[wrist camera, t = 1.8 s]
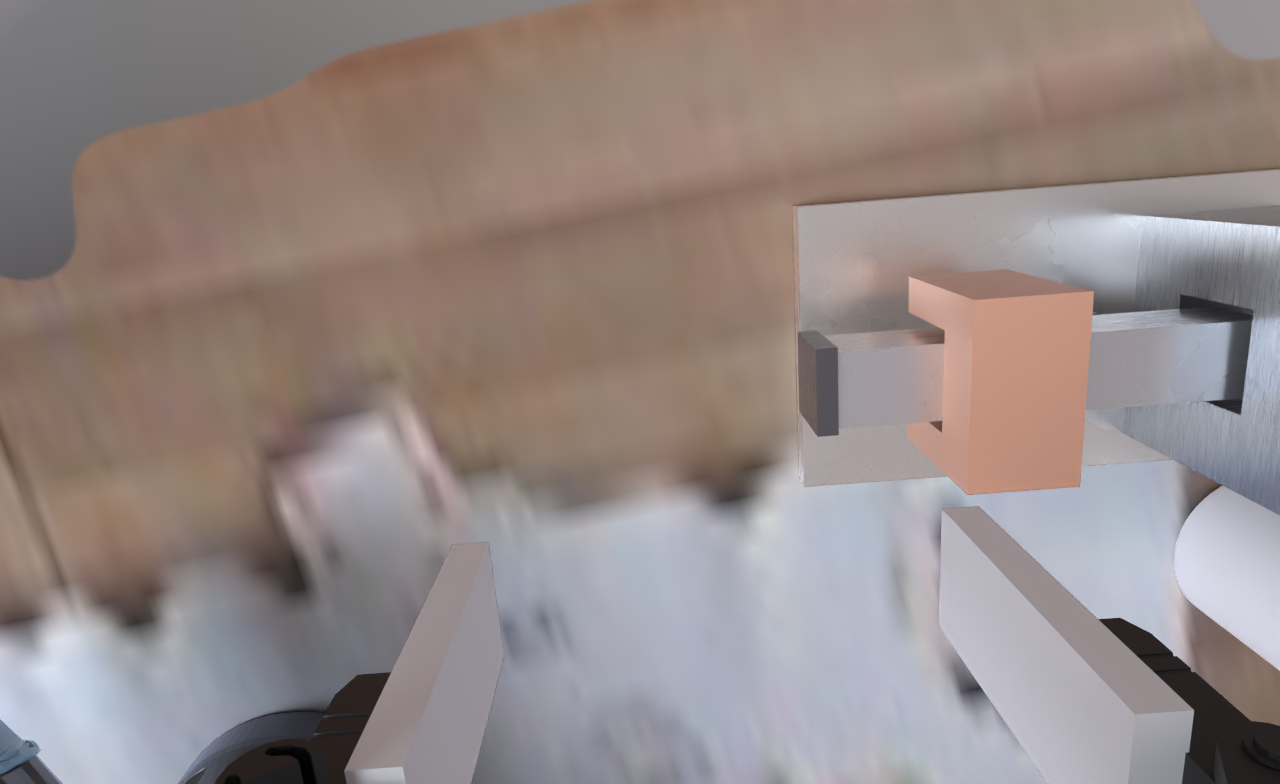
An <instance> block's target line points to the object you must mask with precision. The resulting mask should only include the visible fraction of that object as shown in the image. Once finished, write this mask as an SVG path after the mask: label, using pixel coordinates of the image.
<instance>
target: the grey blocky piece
mask: <svg viewBox="0 0 1280 784" xmlns="http://www.w3.org/2000/svg"><path fill="white" fill-rule="evenodd" d="M792 208H793V249H794V290H795V332H796V373H797V415H798V456H799V479H800V480H801V482H802V484H803V486H804V487H810V486H824V485H837V484H851V483H864V482H878V481H891V480H904V479H918V478H931V477H945V476H947V475H946V474H945V473H944V472H943V471H942V470H941V469H940V468H939V467H937V466H936V465H935V464H934V463H933V462H932V461H931V460H930V459H929V458H928V457H927V456H926V455H925V454H924V453H923V452H922V451H921V450H919V449H918V448H917V447H916V446H915V445H914V444H913V443H912V442H911V441H910V440H909V439H908V438H907V423H906V424H892V425H879V426H866V427H852V428H839V435H836V436H822V437H817V435H816V434H815V432H814V431H813V430H812V428H811V427H810V425H809V424H808V423H807V421H806V420H805V419H804V417H803V416H802V414H801V413H800V412H799V377H798V335H797V332H801V331H814V330H817V331H818V332H820V333H821V334H822V335H823V336H825V335H839V334H852V333H865V332H878V331H891V330H905V329H918V328H931V327H937V326H935V325H933V324H931V323H929V322H927V321H925V320H923V319H921V318H919V317H917V316H915V315H913V314H911V313H909V312H908V301H909V276H921V275H934V274H947V273H960V272H973V271H986V270H999V269H1008V270H1012V271H1016V272H1020V273H1024V274H1028V275H1032V276H1036V277H1040V278H1044V279H1048V280H1052V281H1056V282H1060V283H1064V284H1068V285H1072V286H1076V287H1080V288H1084V289H1088V290H1092V291H1094V301H1093V315H1103V314H1116V313H1129V312H1142V311H1156V310H1169V309H1182V308H1195V307H1208V306H1214V307H1218V308H1222V309H1227V310H1231V311H1236V312H1240V313H1245V314H1249V315H1253V321H1252V329H1251V337H1250V345H1249V353H1248V361H1247V369H1246V377H1245V385H1244V392H1243V398H1240V399H1226V400H1213V401H1200V402H1186V403H1173V404H1160V405H1146V406H1133V407H1119V408H1106V409H1093V410H1085V423H1084V437H1083V450H1082V464H1081V466H1093V465H1106V464H1119V463H1133V462H1146V461H1160V460H1175V461H1177V462H1179V463H1181V464H1183V465H1184V466H1186V467H1188V468H1190V469H1192V470H1194V471H1196V472H1198V473H1200V474H1202V475H1204V476H1205V477H1207V478H1209V479H1211V480H1213V481H1215V482H1217V483H1219V484H1221V485H1223V486H1225V487H1227V488H1228V489H1230V490H1232V491H1234V492H1236V493H1238V494H1240V495H1242V496H1244V497H1246V498H1248V499H1249V500H1251V501H1253V502H1255V503H1257V504H1259V505H1261V506H1263V507H1265V508H1267V509H1269V510H1270V511H1272V512H1274V513H1276V514H1278V515H1280V169H1268V170H1255V171H1242V172H1229V173H1216V174H1203V175H1190V176H1177V177H1164V178H1151V179H1138V180H1125V181H1112V182H1099V183H1086V184H1073V185H1060V186H1047V187H1034V188H1021V189H1008V190H995V191H982V192H968V193H955V194H942V195H929V196H916V197H903V198H890V199H877V200H864V201H851V202H838V203H825V204H812V205H799V206H792Z"/></svg>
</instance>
